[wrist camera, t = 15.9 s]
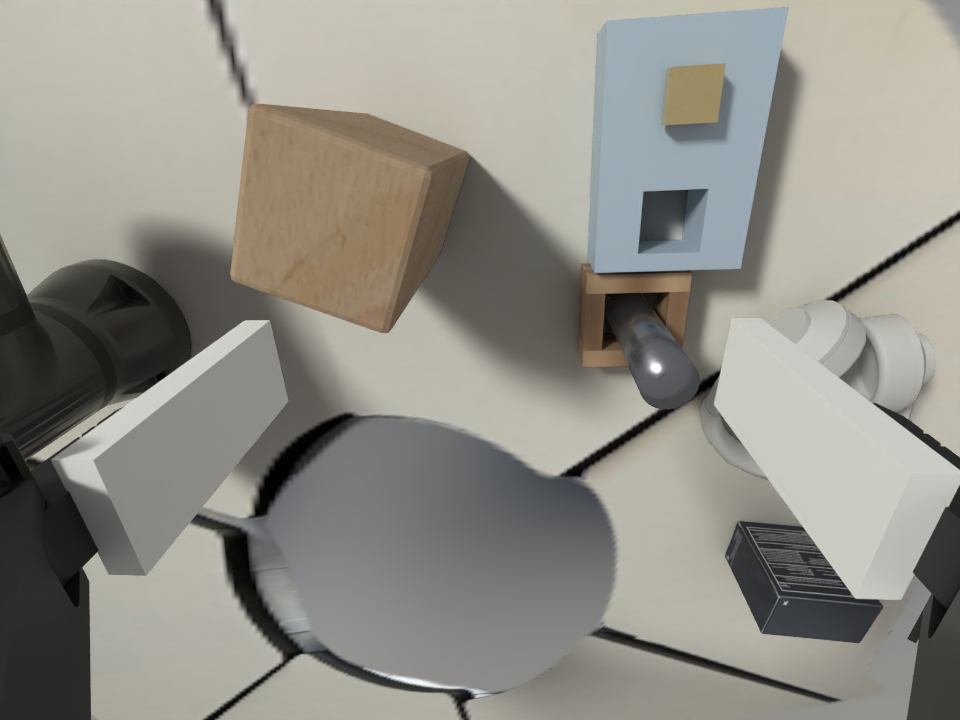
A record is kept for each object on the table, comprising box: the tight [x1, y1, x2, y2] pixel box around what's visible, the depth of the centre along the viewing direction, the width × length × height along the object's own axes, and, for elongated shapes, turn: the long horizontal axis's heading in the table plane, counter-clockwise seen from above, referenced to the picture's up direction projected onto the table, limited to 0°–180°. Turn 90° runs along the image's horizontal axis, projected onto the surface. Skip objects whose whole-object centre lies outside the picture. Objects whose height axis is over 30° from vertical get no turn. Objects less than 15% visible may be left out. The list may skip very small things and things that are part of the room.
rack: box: [578, 264, 692, 367], centre depth 46 cm, size 9×9×4 cm
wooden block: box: [230, 104, 470, 333], centre depth 36 cm, size 10×10×20 cm
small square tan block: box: [661, 63, 726, 125], centre depth 36 cm, size 4×4×6 cm
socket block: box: [587, 7, 789, 273], centre depth 39 cm, size 12×18×5 cm, turn 3°
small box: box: [725, 521, 883, 643], centre depth 54 cm, size 11×6×10 cm, turn 87°
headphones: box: [700, 301, 936, 479], centre depth 47 cm, size 18×8×20 cm
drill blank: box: [605, 293, 700, 409], centre depth 41 cm, size 4×4×16 cm
